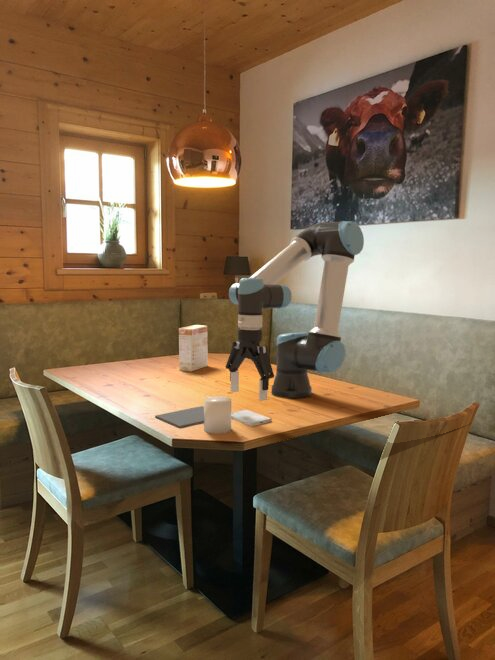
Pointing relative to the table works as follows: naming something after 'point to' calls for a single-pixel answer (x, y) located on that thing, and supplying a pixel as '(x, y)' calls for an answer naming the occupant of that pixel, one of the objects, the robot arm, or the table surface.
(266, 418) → the hard drive
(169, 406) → the table surface
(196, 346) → the coffeecake box
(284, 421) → the table surface
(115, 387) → the table surface
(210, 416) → the cream rounded cylinder
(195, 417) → the mat
